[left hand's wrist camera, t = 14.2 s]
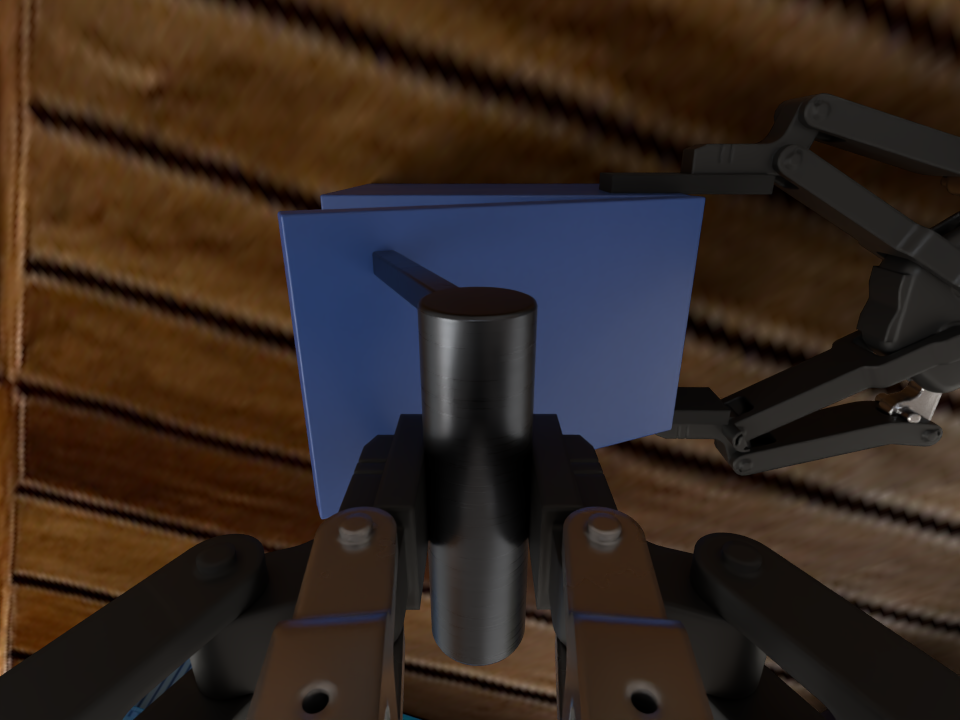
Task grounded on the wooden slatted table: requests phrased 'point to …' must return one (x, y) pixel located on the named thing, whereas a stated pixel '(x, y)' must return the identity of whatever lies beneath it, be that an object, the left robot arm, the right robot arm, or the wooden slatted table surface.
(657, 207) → the lid
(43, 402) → the wooden slatted table surface
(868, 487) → the wooden slatted table surface
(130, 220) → the wooden slatted table surface
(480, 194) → the chest
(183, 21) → the wooden slatted table surface
